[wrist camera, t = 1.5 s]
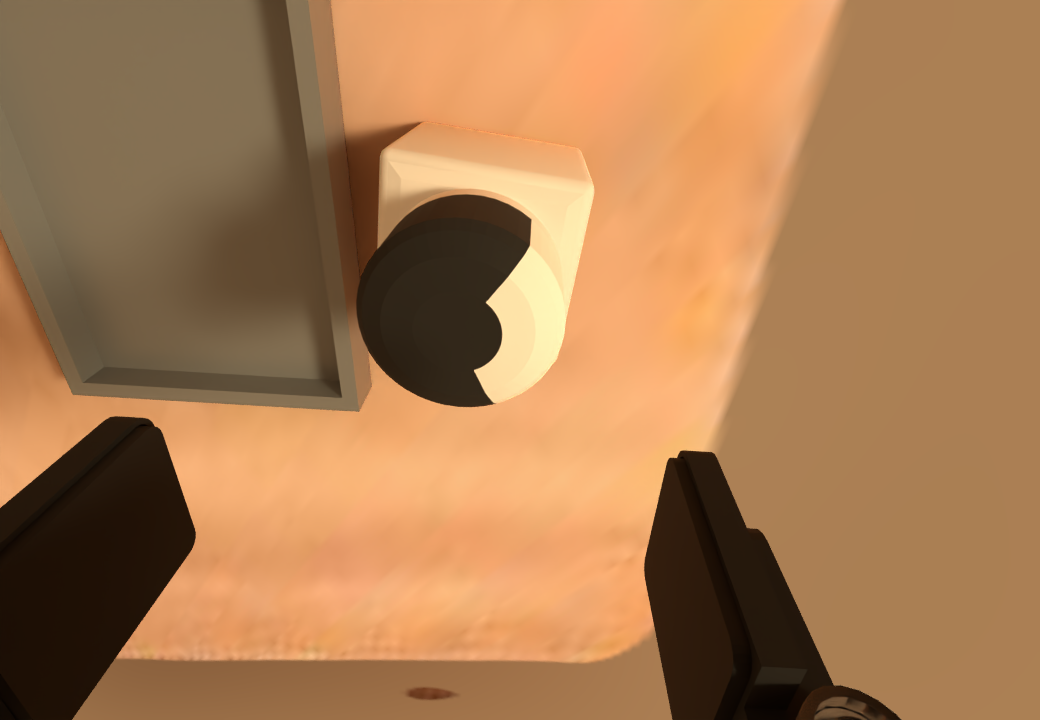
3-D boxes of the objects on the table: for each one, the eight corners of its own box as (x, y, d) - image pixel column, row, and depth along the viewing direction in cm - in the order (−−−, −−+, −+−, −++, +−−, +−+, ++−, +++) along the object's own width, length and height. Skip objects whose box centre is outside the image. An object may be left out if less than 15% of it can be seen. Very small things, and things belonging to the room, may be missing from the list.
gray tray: (-75, -84, 21) (-144, -98, 18) (323, -62, 20) (299, -74, 18) (104, 370, 31) (72, 394, 29) (371, 386, 31) (359, 411, 28)
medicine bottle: (411, 273, 27) (330, 417, 17) (420, 118, 24) (324, 180, 13) (552, 296, 27) (559, 450, 17) (583, 147, 24) (615, 229, 14)
